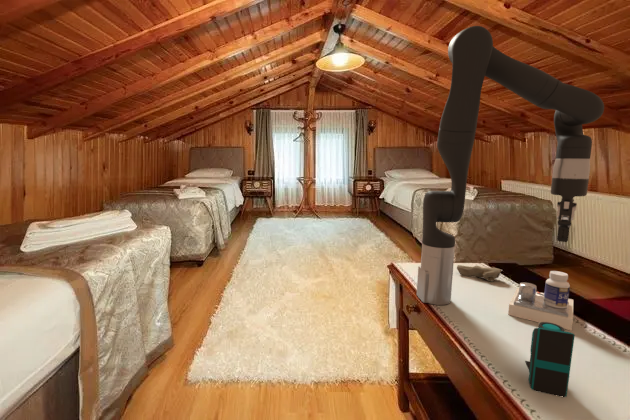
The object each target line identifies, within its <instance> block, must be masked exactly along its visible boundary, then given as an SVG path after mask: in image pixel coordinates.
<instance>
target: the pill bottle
mask: <svg viewBox="0 0 630 420" xmlns="http://www.w3.org/2000/svg"><path fill="white" fill-rule="evenodd" d="M568 280H569V274H568V273H566V272H563V271H558V270H550V271H549V278H547V279H546V280H545V284H544V285H545V286H544V292H543V293H544V303H545V304H546V305H548V306H551V307H555V308H566V307H567V304H568V299H569V297H570V288H571V285H570V283H569V281H568Z"/></svg>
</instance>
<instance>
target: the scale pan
mask: <svg viewBox="0 0 630 420" xmlns="http://www.w3.org/2000/svg"><path fill="white" fill-rule="evenodd" d="M518 296H519V292H518V294H517V296H516V298H515V301H514V305H517V306H522V307H526V308H530V309H534V310H539V311H543V312H547V313H552V314H556V315H560V316H564V317H568V315H569V302H568V304H567V307H566V308H555V307H551V306H548V305H546V304H545V303H544V297H543V296H538V295H536V297H535V301H533V302H530V301H524V300H521V299H520V298H519V297H518Z"/></svg>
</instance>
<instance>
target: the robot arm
mask: <svg viewBox="0 0 630 420" xmlns="http://www.w3.org/2000/svg"><path fill="white" fill-rule="evenodd" d="M493 41H494V40H493V36H492V33H491V32H490V31H489V30H488V28H486V27H484V26H481V25H473V26H469V27H466V28H464V29H462V30H460V31H459V32H458V33H456V35H454V36H453V37H452V38H451V40H450V42H449V44H448V48H447V55H448V58H449V61H450V63H451V64H452V66H451V67H452V68H451V70H452V71H451V79H450V81H451V82H450V87H449V94H448V96H447V100H446V102H445V105H444V107H443V108H444V109H443V111H442V115H441V118H440V121H439V128H438V135H437V141H436V147H437V151H438V153H439V155H440V157H441V160H442V161H443V163H444V164H445V166H446V168H447V170H448V173H449V176H450V180H451V187H450V190H428V191H427V192H426V193H425V194H424V196H423V200H422V240H421V257H420V265H419V266H417V268H418V269H417V282H416V283H417V284H416V296H417V297H418V299H420V300H421V302H422V303H423V304H424V303H425V304H430V305H434V306H435V305H436V306H437V305H438V306H443V305H449V304H450V303H451V301H452V291H453V290H452V286H453V276H454V275H453V274H454V261H455V247H456V246H455V245H456V237H455V236H454V235H453V234H451V233H448V232H445V231H443V230H441V229H439V228H438V227H437V223H458V222H459V221H460V220H461V219H462V218H463V214H464V210H465V203H466V202H465V201H466V195H467V193H466V192H467V182H468V174H469V168H470V162H471V156H472V152H473V148H474V143H475V139H476V132H477V131H476V130H477V125H478V118H479V114H480V113H479V112H480V104H481V95H482V88H483V84H484V79H485V77H486V78H488V79H489V80H492V81H494V82H495V83H498V84H499V85H501V86H502V87H504V88H506V89H507V90H509V91H511V92H512V93H514V94H516V95H517V96H519V97H521V98H522V99H523V100H526V101H527V102H529V103H531V104H533V105H534V106H536V107H537V108H541V109H543V110H554V111H555V112H554V115H553V127H554V130H555V131H554V132H555V133H554V134H555V137H556V142H557V145H556V150H555V151H556V152H555V153H556V154H555V158H554V164H553V167H552V175H551V176H552V177H551V185H550V194H551V195H554V196H560V197H561V201H557V204H556V210H557V213H556V219H558V221H557V226H558V230H557V236H556V237H557V238H556V241H557V242H562V243H567V242H568V241H569V233H570V228H571V226H572V221H573V220H574V219H575V211H576V210H577V202H575V200H574V198H575V197H586V196H587V194H588V188H589V182H590V181H589V180H590V172H591V154H592V145H593V139H592V137H591V136H589V135H586V134H584V130H583V125H586V124H587V125H588V124H591V123H593V122H596V121H597V120H598V119H600V118H601V117H602V115H603V114H604V111H605V104H604V101H603V99H602V98H601V97H600V96H599V95H597V94H596V93H594V92H593V91H590V90H587V89H585V88H582V87H578V86H575V85H572V84H569V83H565V82H563V81H562V80H559V79H558V78H556V77H555V76H552V75H551V74H549V73H547V72H545V71H544V70H541V69H539V68H537V67H536V66H533V65H531V64H527V63H525V62H522V61H521V60H517V59H515V58H513V57H511V56H509V55H507V54H506V53H503V52H502V51H500V50H499V49H497V48H496V47H495V46H494V42H493Z"/></svg>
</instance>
